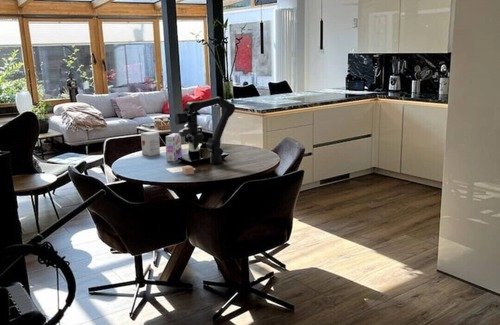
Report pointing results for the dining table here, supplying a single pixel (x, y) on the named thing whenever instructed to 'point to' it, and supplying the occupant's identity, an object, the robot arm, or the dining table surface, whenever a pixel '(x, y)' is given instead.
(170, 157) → the candy box
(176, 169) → the letter
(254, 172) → the dining table surface
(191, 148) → the green cube
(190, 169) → the terracotta block
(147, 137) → the supplement box
